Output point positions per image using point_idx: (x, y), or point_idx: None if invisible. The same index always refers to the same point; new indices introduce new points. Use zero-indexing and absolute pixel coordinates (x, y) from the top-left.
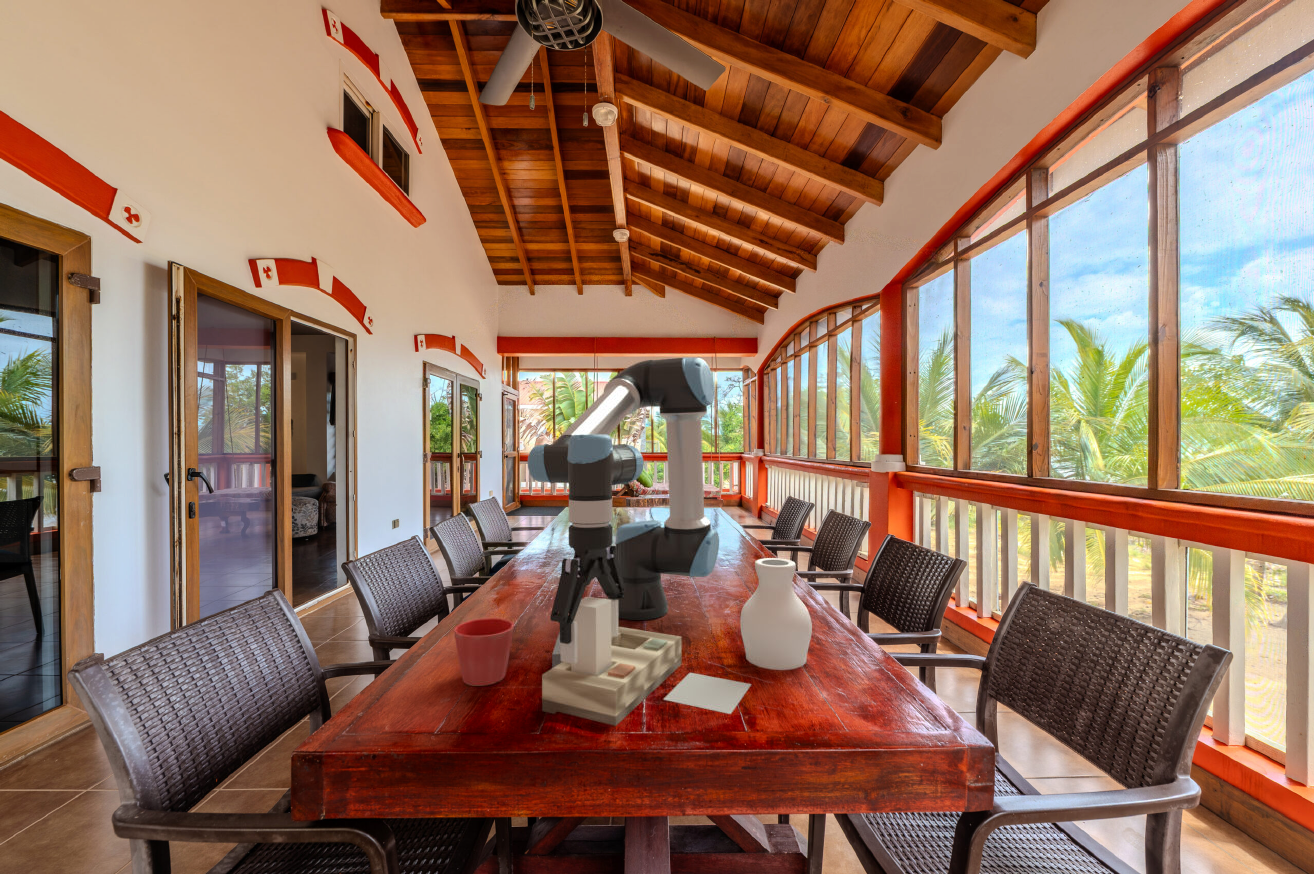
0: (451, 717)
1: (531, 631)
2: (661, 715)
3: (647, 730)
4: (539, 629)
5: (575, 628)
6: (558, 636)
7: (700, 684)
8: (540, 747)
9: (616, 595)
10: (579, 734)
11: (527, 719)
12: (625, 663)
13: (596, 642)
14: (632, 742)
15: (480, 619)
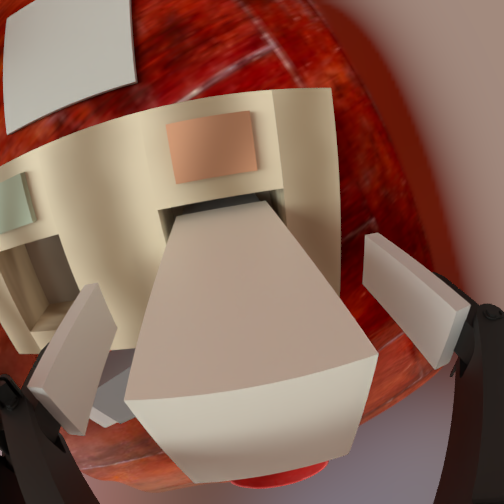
0: (375, 347)
1: (115, 445)
2: (191, 51)
3: (264, 43)
4: (103, 442)
5: (447, 293)
6: (134, 416)
7: (37, 74)
8: (401, 185)
9: (28, 410)
10: (347, 151)
11: (345, 268)
12: (150, 181)
13: (294, 242)
14: (317, 48)
15: (252, 487)
